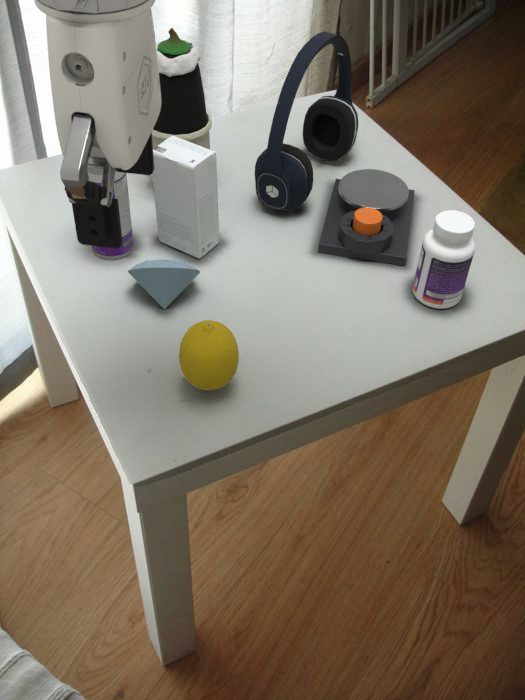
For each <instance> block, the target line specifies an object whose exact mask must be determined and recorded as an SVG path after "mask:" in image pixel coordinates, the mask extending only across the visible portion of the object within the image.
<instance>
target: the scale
mask: <svg viewBox="0 0 525 700" xmlns="http://www.w3.org/2000/svg"><path fill="white" fill-rule="evenodd" d="M341 179H342V178H335V180H334V184H333V188H332V191H331V195H330V199H329V203H328V207H327V211H326V215H325V220H324V223H323V227H322V231H321V234H320V239H319V242H318V250H317V251H318V253H322V254H327V255H334V256H340V257H347V258H351V259H358V260H359V259H360V260H364V261H365V260H366V261H371V262H376V263H377V262H378V263H384V264H390V265H397V266H403V267H405V266H406V262H407V255H408V246H409V238H410V231H411V223H412V215H413V207H414V206H413V205H414V199H415V192H416V191H415V189H409V188H408V190H409V195H408V199H407V201H406V202H405V204H403V205H402V206H401V207H399V208H397V209H394V210H391V211H385V212H380V213H381V214H382V217H383V218H382V224H381V229H380V232H379V233H378V234H376V235H371V236H368V235H362V234H359V233H357V232H355V231H354V229H353V220H354V213H355V212H356V210H358V209H359V208H356V207H354V206H352V205H350V204H349V203H347V202H346V201H345V200H344V199H343V198H342V197H341V195H340V193H339V183H340V180H341Z"/></svg>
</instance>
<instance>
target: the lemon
mask: <svg viewBox="0 0 525 700" xmlns="http://www.w3.org/2000/svg"><path fill="white" fill-rule="evenodd" d="M179 344H180V345H179V351H178V362H179V366H180V371H181V373H182V375H183V376H184V378H185V379H186V381H187V382H188V383H189V384H190V385H191V386H193V387H195V388H197V389H199V390H203V391H215V390H219V389H221V388H223V387H225V386H226V385H228V383H229V382H231V381H232V379H233V378H234V376H235V374H236V372H237V370H238V366H239V361H240V354H239V347H238V346H239V345H238V342H237V339H236V338H235V336H234V333H233V332H232V331H231V329H229V327H228V326H227V325H225V324H224V323H222V322H219V321H217V320H209V319H208V320H207V319H205V320H201V321H198V322H196V323H194V324H193V325H191V326H189V328H188V329H187V330H185V332H184V334H183V337H182V338H181V340H180V343H179Z"/></svg>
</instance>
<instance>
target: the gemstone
mask: <svg viewBox="0 0 525 700" xmlns="http://www.w3.org/2000/svg"><path fill="white" fill-rule="evenodd" d="M127 273H128V274H129V275H130V276H131V278H132V279H134V280H135V281H136V282H137V283H138V284H139V285H140V286H141V287H142V288H143V289H144V290H145V291H146V292H147V294H149V296H150V297H152V298H153V299H154V300H155V302H156V303H157V304H158V305H159V306H160V307H162V309H163V310H166V308H168V306H170V304H171V303H172V302H173V301H174V300H175V299H176V298H177V297H178V296H179V295H180V294H181V293H182V292H183V291H184V290H185V289H186V288H187V287H188V286H189V285H190V284H191V283H192V282H193V281H194V280H195V279H196V278H197V276H199V274H200V273H201V271H200V270H199V269H198V268H196V267H195V266H192V265H191V264H189V263H187V262H185V261H182V260H176V259H150V260H144V261H142V262H140V263H136V264H135V265H134V266H132V267H131V268H130V269H127Z"/></svg>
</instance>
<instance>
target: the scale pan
mask: <svg viewBox="0 0 525 700" xmlns="http://www.w3.org/2000/svg"><path fill="white" fill-rule="evenodd" d="M340 179H341V180H340V183H339V193H340V195H341V197H342V198H343V199H344V200H345V201H346V202H347V203H349V204H350V205H352V206H354V207H356V208H359V209H360V208H364V207H368V208H374V209H376V210H378V211H379V212H385V211H391V210H394V209H397V208H399V207H401V206H402V205H403V204H405V202H406V201H407V199H408V195H409V190H408V189H409V187H408V185H407V183H406V182H405V181H404V180H403V179H402V178H400V177H399V176H397V175H395V174H393V173H391V172H389V171H385V170H380V169H374V168H364V169H357V170H353V171H350V172H348V173H346V174H345V175H344V176H342V178H340Z"/></svg>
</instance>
